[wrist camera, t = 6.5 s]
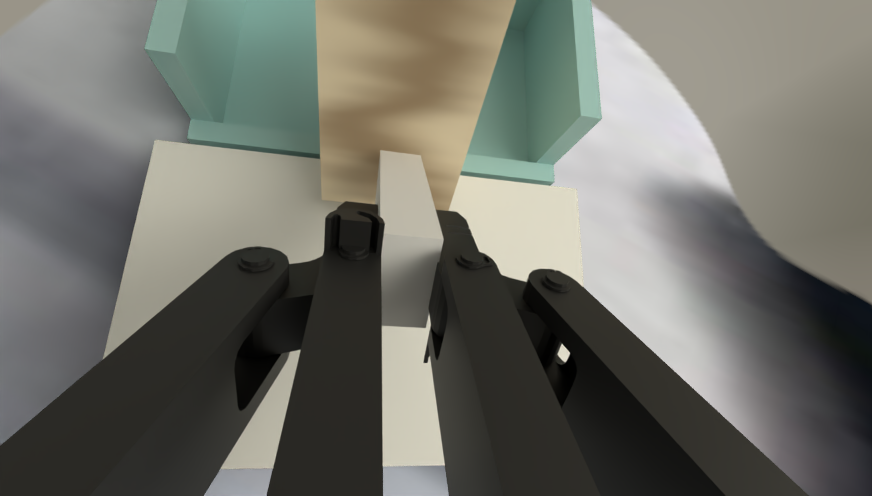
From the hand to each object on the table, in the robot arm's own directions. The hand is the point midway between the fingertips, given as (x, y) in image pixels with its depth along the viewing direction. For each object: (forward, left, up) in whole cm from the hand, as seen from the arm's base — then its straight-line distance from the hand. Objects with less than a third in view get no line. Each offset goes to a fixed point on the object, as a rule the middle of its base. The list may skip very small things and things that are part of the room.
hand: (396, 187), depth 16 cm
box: (0, +9, -6) cm, 10 cm away
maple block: (0, +3, -3) cm, 4 cm away
